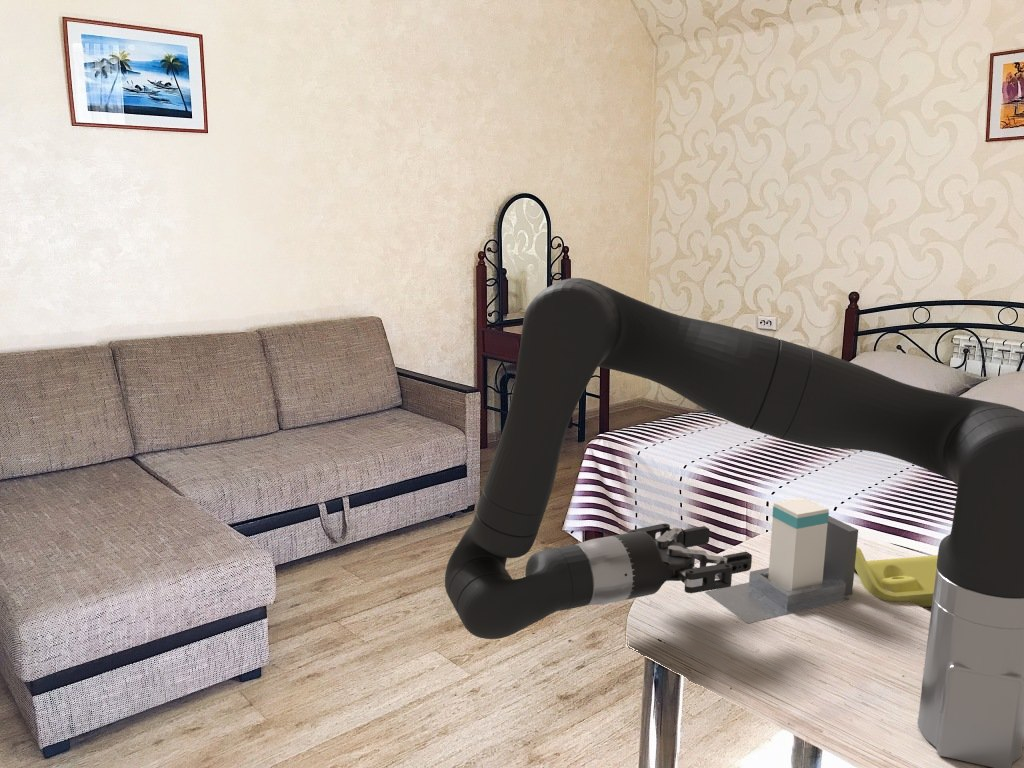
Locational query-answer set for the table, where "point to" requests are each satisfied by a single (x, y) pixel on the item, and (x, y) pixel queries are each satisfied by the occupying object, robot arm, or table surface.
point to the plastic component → (899, 578)
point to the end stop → (840, 553)
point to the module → (798, 543)
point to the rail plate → (774, 597)
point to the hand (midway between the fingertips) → (727, 547)
